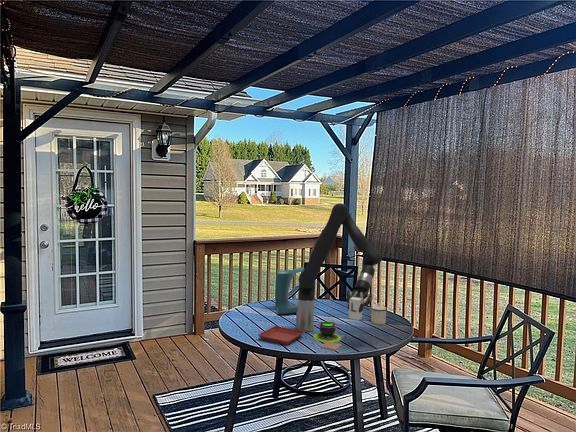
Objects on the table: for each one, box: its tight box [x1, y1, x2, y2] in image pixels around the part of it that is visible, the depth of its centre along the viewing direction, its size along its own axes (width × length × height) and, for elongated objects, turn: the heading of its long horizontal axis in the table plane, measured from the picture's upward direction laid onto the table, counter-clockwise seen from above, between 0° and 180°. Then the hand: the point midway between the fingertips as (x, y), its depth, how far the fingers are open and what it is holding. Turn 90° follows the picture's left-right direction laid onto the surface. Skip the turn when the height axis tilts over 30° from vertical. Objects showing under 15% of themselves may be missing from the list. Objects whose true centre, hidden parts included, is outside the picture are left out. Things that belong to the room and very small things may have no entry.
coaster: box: [320, 341, 343, 352], centre depth 208 cm, size 8×8×1 cm
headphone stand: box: [274, 267, 316, 315], centre depth 272 cm, size 26×28×28 cm
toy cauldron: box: [312, 318, 342, 343], centre depth 222 cm, size 15×15×11 cm
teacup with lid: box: [369, 302, 387, 325], centre depth 253 cm, size 12×9×12 cm
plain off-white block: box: [348, 296, 363, 321], centre depth 211 cm, size 5×5×10 cm
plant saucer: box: [257, 325, 305, 346], centre depth 218 cm, size 18×18×3 cm
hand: (354, 310), depth 209 cm, fingers closed on plain off-white block, 5 cm apart
